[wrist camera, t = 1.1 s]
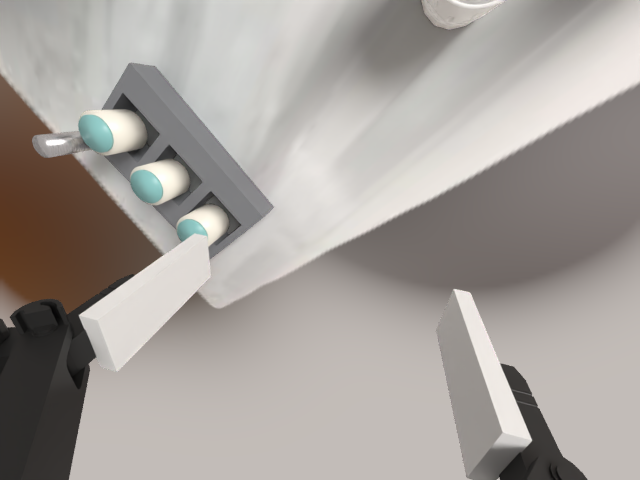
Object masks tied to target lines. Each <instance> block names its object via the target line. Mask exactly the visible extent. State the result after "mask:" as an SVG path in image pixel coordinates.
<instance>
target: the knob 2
mask: <svg viewBox="0 0 640 480" xmlns="http://www.w3.org/2000/svg"><path fill="white" fill-rule="evenodd" d="M228 229H229V219H228V216H227V214H226V213H225V211H224V210H223V209H222V208H220V207H219V206H217V205H215V204H204V205H203V206H201V207H199V208H197V209H196V210H194V211H192V212H190V213H189V214H187V215H185V216H183V217H182V218H180V219H179V220H178V222H177V225H176V231H177V234H178V236H179V238H180V240H181V241H182V242H183V241H185V240H186V239H187V238H189V237H190V236H192V235H193V234H194V233H195V234H200V235H204V236H207V239H208V247H209V246H210V245H211V244H212V243H214V242H215V241H216V240H217V239H218V238H220V237H221V236H222V235H223V234H225V233H226V232H227V230H228Z"/></svg>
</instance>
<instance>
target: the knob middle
mask: <svg viewBox="0 0 640 480" xmlns="http://www.w3.org/2000/svg"><path fill="white" fill-rule="evenodd" d="M130 182H131V187H132V189H133V191H134V193H135V194H136V195H137V196H138V197H139V198H140V199H141V200H142V201H144V202H145V203H147V204H150V205H160V204H162V203H164V202H166V201H168V200H170V199H173V198H175V197H177V196H179V195H181V194H183V193H185V192H187V191H188V189H189V187H190V176H189V174H188V172H187V170H186V168H185V167H184V166H183V165H182V164H181V163H180V162H178V161H176V160H174V159H164V160H160V161H157V162H153V163H149V164H146V165H142V166H138V167H136V168H134V169H133V170H132V172H131V175H130Z"/></svg>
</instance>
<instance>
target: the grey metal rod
mask: <svg viewBox="0 0 640 480" xmlns="http://www.w3.org/2000/svg"><path fill="white" fill-rule="evenodd" d="M32 142H33V146H34V148H35V150H36V151H37V152H38V153H39V154H40V155H41V156H43V157H46V158H49V157H55V156H60V155H66V154H72V153H78V152H84V151H89V150H92V149H91V148H90V147H89V146H88V145H87V144H86V143H85V142H84V140H83V139H82V137H81V135H80V132H79V131H73V132H64V133H54V134H44V135H35V136H34V137H33V139H32Z"/></svg>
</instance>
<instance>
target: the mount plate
mask: <svg viewBox="0 0 640 480" xmlns="http://www.w3.org/2000/svg"><path fill="white" fill-rule="evenodd" d="M114 109H128V110H131V111H133V112H134V113H135V111H136V110H137V109H138V110H139V111H140V112H141V113H142V115H143V116H144V117H145V118H146V119H147V120H148V121H149V122H150V123H151V125H152V126H153V127H154V128H155V129H156V130H157V131H158V132H159V133H160V135H159V136H158V138H157V139H156V140H155V141H154V143H153V144H152V145H151V147H149V146H148V145H147V144H146V145H145V146H144V147H143V148H141V149H137V150H132V151H127V152H122V153H117V154H112V155H107V156H105V155H104V156H105V157H106V158H107V159H108V160H109V161H110V162H111V163H112V164H113V165H114V166H115V167H116V168H117V170H118V171H119V172H120V173H121V174H122V175H123V176H124V177H125V178H126V179H127V180H128V181H129V182H130V175H131V172H132V170H133V169H134V168H136V167H138V166H142V165H146V164H149V163H153V162H157V161H160V160H164V159H173V158H174V157H175V156H176V154H178V155H179V156H180V157H181V158H182V159H183V160H184V161H185V163H186V164H187V165H188V166H189V167H190V168H191V169H192V170H193V171H194V173H195V174H196V175H197V176H198V177H199V178H200V179H201V180H202V181H203V182H202V183H201V184H200V185H199V186H198V187H197V188H196V189H195V190H194V191H193V192H192V193H191V192H190V191H189V190H188V191H187V192H185V193H183V194H181V195H179V196H177V197H175V198H173V199H170V200H168V201H166V202H164V203H162V204H160V205H153V207H154V208H155V209H156V210H157V211H158V212H159V213H160V214H161V215H162V216H163V217H164V218H165V219H166V220H167V221H168V222H169V223H170V224H171V225H172V226H173V227H174V228H175V229H176V225H177V222H178V220H179V219H180V218H182V217H183V216H185V215H187V214H189V213H190V212H192V211H194V210H196V209H197V208H199V207H201V206H203V204H205V203H206V202H207V201H208V200H209V199H210V198H211V197H212V196H213V195H215V196H216V197H217V198H218V199H219V200H220V202H221V203H222V204H223V205H224V206H225V207H226V208H227V209H228V211H229V212H230V213H231V214H232V215H233V216H234V217H235V218H236V219H237V221H238V222H239V223H240V224H241V226H239V227H238V228H237V229H236V230H234V231H233V232H232V233H231V234H229V233H228V232H226V233H225V234H223V235H222V236H221V237H220V238H218V239H217V240H216V241H215V242H214V243H212V244H211V245H210V246H209V247H208V250H209V260H210V259H211V258H212V257H214V256H215V255H216V254H218V253H219V252H220V251H221V250H223V249H224V248H225V247H226V246H228V245H229V244H230V243H232V242H233V241H234V240H235V239H237V238H238V237H239V236H240V235H242V234H243V233H244V232H246V231H247V230H248V229H249V228H251V227H252V226H253V225H254V224H256V223H257V222H258V221H260V220H261V219H262V218H263V217H264V216H265V215H267V214H268V213H269V212H270V211H271V210H272V209H273V208H274V207H273V205H272V204H271V203H270V202H269V201H268V199H267V198H266V197H265V196H264V195H263V194H262V192H261V191H260V190H259V189H258V188H257V186H256V185H255V184H254V183H253V182H252V181H251V179H250V178H249V177H248V176H247V175H246V173H245V172H244V171H243V170H242V169H241V167H240V166H239V165H238V164H237V163H236V162H235V160H234V159H233V158H232V157H231V156H230V154H229V153H228V152H227V151H226V150H225V149H224V147H223V146H222V145H221V144H220V143H219V141H218V140H217V139H216V138H215V137H214V135H213V134H212V133H211V132H210V131H209V130H208V128H207V127H206V126H205V125H204V124H203V122H202V121H201V120H200V119H199V118H198V117H197V115H196V114H195V113H194V112H193V111H192V109H191V108H190V107H189V106H188V105H187V103H186V102H185V101H184V100H183V99H182V98H181V96H180V95H179V94H178V93H177V92H176V90H175V89H174V88H173V87H172V86H171V85H170V83H169V82H168V81H167V80H166V79H165V77H164V76H163V75H162V74H161V73H160V71H159V70H158V69H157V68H156V67H155V66H149V65H142V64H135V63H129V64H128V66H127V68H126V69H125V71H124V73H123V74H122V76H121V78H120V80H119V81H118V83H117V85H116V86H115V88H114V90H113V91H112V93H111V95H110V96H109V98H108V100H107V101H106V103H105V105H104V107H103V108H102V110H114ZM130 183H131V182H130Z"/></svg>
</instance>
